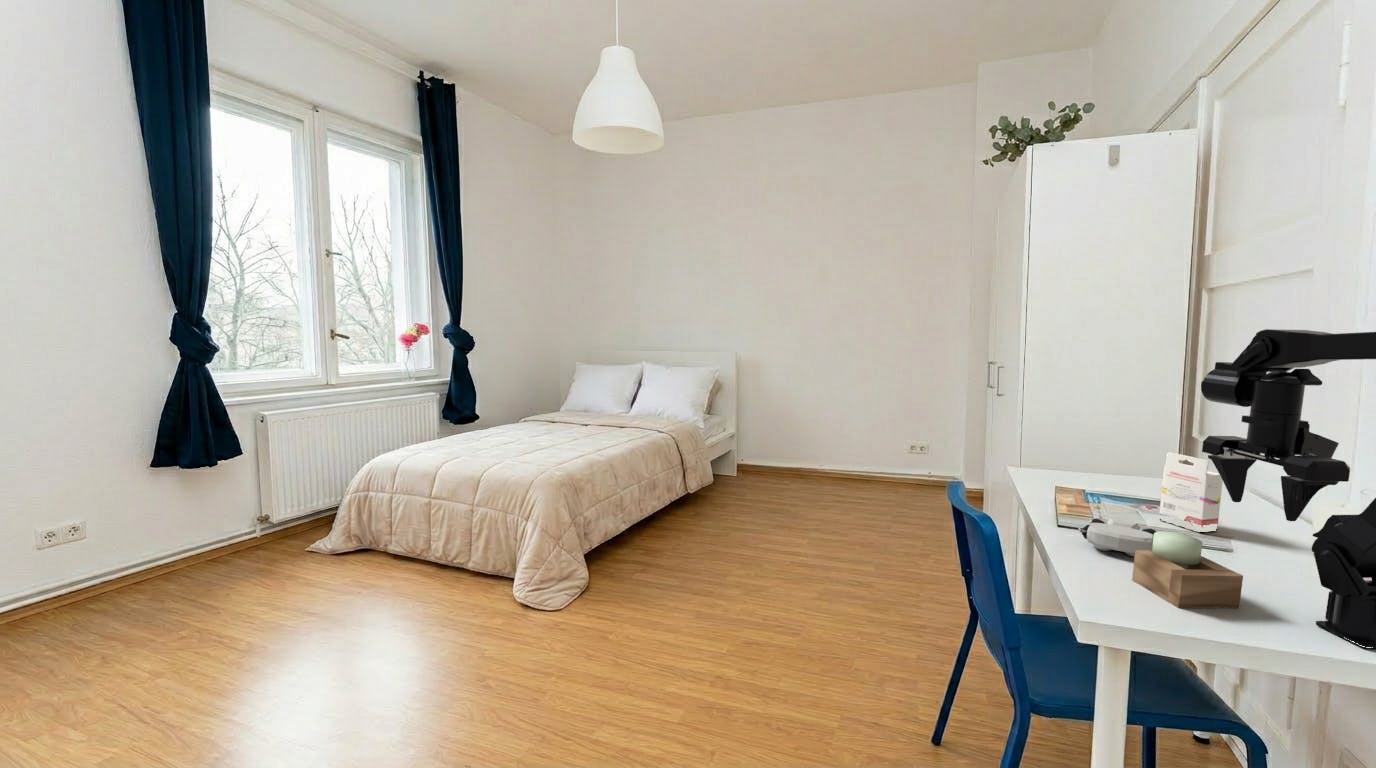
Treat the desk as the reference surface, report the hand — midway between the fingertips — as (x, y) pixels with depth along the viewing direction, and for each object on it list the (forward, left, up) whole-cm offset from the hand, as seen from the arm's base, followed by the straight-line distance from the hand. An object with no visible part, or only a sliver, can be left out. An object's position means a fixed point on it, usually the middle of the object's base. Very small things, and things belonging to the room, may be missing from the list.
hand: (1262, 511), depth 98 cm
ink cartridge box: (+29, -13, -13) cm, 34 cm away
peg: (0, +13, -10) cm, 17 cm away
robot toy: (+17, +9, -13) cm, 23 cm away
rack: (-2, +13, -12) cm, 18 cm away
